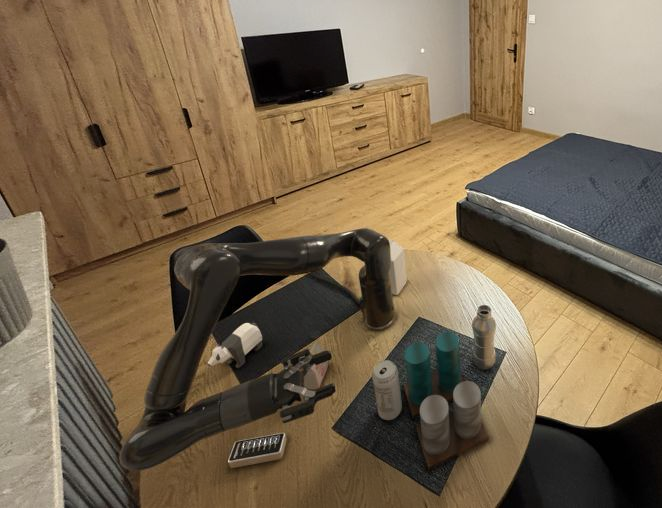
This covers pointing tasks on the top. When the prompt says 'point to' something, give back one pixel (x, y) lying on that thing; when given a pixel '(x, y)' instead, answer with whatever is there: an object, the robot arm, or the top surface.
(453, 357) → the can rack
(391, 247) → the milk carton
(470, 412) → the tin rack
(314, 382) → the pink white gabled box
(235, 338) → the giant panda
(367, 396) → the top surface
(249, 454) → the white black flat block
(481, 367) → the plastic bottle
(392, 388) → the energy drink can
